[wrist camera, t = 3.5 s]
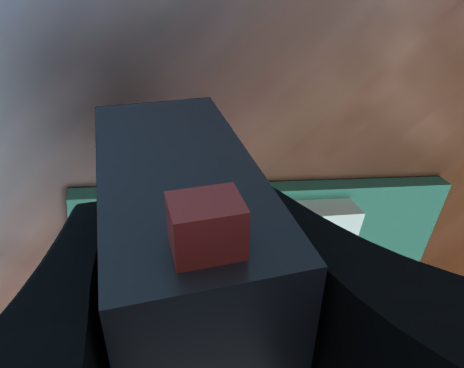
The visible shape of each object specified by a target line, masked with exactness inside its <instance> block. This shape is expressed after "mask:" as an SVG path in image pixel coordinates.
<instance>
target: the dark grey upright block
mask: <svg viewBox="0 0 464 368" xmlns="http://www.w3.org/2000/svg"><path fill="white" fill-rule="evenodd" d="M95 127H96V187H97V246H98V306H99V316H100V320H101V325H102V330H103V334H104V339H105V344H106V348H107V353H108V357H109V362H110V367H111V368H311V365H312V359H313V353H314V347H315V341H316V335H317V329H318V323H319V317H320V311H321V305H322V298H323V292H324V286H325V280H326V274H327V268H328V266H327V265H326V263H325V262H324V260H323V259H322V258H321V256H320V255H319V253H318V252H317V250H316V249H315V248H314V246H313V245H312V243H311V242H310V240H309V239H308V237H307V236H306V235H305V233H304V232H303V230H302V229H301V227H300V226H299V225H298V223H297V222H296V220H295V219H294V217H293V216H292V214H291V213H290V212H289V210H288V209H287V207H286V206H285V204H284V203H283V202H282V200H281V199H280V197H279V196H278V194H277V193H276V191H275V190H274V189H273V187H272V186H271V184H270V183H269V181H268V180H267V179H266V177H265V176H264V174H263V173H262V171H261V170H260V168H259V167H258V166H257V164H256V163H255V161H254V160H253V158H252V157H251V156H250V154H249V153H248V151H247V150H246V148H245V147H244V145H243V144H242V143H241V141H240V140H239V138H238V137H237V135H236V134H235V133H234V131H233V130H232V128H231V127H230V125H229V124H228V122H227V121H226V120H225V118H224V117H223V115H222V114H221V112H220V111H219V110H218V108H217V107H216V105H215V104H214V102H213V101H212V99H211V98H210V97H207V98H195V99H183V100H171V101H159V102H148V103H136V104H124V105H112V106H100V107H95Z"/></svg>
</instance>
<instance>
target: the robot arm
mask: <svg viewBox="0 0 464 368" xmlns="http://www.w3.org/2000/svg"><path fill="white" fill-rule="evenodd" d="M273 189H274V190H275V191H276V193H277V194H278V196H279V197H280V199H281V200H282V202H283V203H284V204H285V206H286V207H287V209H288V210H289V212H290V213H291V214H292V216H293V217H294V219H295V220H296V222H297V223H298V225H299V226H300V227H301V229H302V230H303V232H304V233H305V235H306V236H307V237H308V239H309V240H310V242H311V243H312V245H313V246H314V248H315V249H316V250H317V252H318V253H319V255H320V256H321V258H322V259H323V260H324V262H325V263H326V265H327V266H328V268H327V274H326V280H325V286H324V292H323V298H322V305H321V311H320V317H319V323H318V329H317V335H316V341H315V347H314V353H313V359H312V365H311V368H464V276H461V275H458V274H454V273H451V272H448V271H445V270H443V269H440V268H437V267H434V266H431V265H428V264H425V263H422V262H419V261H416V260H414V259H411V258H408V257H406V256H403V255H401V254H398V253H396V252H394V251H391V250H389V249H387V248H384V247H382V246H379V245H377V244H375V243H372V242H370V241H368V240H366V239H364V238H362V237H360V236H358V235H356V234H354V233H352V232H350V231H348V230H346V229H344V228H342V227H340V226H338V225H336V224H334V223H333V222H331V221H329V220H327V219H325V218H324V217H322V216H320V215H318V214H317V213H315V212H313V211H312V210H310V209H308V208H307V207H305V206H303V205H302V204H300V203H298V202H297V201H295V200H293V199H292V198H290V197H289V196H287V195H285V194H284V193H282V192H280V191H279V190H277V189H276V188H274V187H273ZM0 368H111V367H110V362H109V357H108V353H107V348H106V344H105V339H104V334H103V330H102V325H101V320H100V316H99V306H98V246H97V201H95V202H87V203H80V204H77V205H76V206H75V207H74V208H73V209H72V211H71V213H70V215H69V217H68V219H67V221H66V222H65V224H64V226H63V228H62V229H61V231H60V233H59V234H58V236H57V238H56V239H55V241H54V243H53V244H52V246H51V247H50V249H49V250H48V252H47V253H46V255H45V256H44V258H43V259H42V261H41V263H40V264H39V265H38V267H37V268H36V270H35V271H34V272H33V274H32V275H31V276H30V278H29V279H28V280H27V282H26V283H25V284H24V286H23V287H22V288H21V290H20V291H19V292H18V294H17V295H16V296H15V297H14V299H13V300H12V301H11V302H10V303H9V305H8V306H7V307H6V308H5V309H4V311H3V312H2V313H1V314H0Z"/></svg>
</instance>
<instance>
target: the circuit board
mask: <svg viewBox="0 0 464 368" xmlns="http://www.w3.org/2000/svg"><path fill="white" fill-rule="evenodd" d="M269 183H270V184H271V186H272V187H274V188H276V189H277V190H279V191H280V192H282V193H284V194H285V195H287V196H289V197H290V198H292V199H293V200H295V201H297V202H298V203H300V204H302V205H303V206H305V207H307V208H308V209H310V210H312V211H313V212H315V213H317V214H318V215H320V216H322V217H324V218H325V219H327V220H329V221H331V222H333V223H334V224H336V225H338V226H340V227H342V228H344V229H346V230H348V231H350V232H352V233H354V234H356V235H358V236H360V237H362V238H364V239H366V240H368V241H370V242H372V243H375V244H377V245H379V246H382V247H384V248H387V249H389V250H391V251H394V252H396V253H398V254H401V255H403V256H406V257H408V258H411V259H414V260H416V261H419V262H420V259H421V257H422V255H423V252H424V250H425V247H426V245H427V243H428V240H429V238H430V235H431V233H432V230H433V228H434V226H435V223H436V221H437V218H438V216H439V214H440V211H441V209H442V206H443V204H444V202H445V199H446V197H447V194H448V192H449V190H450V187H451V184H450V183H448V182H447V181H445V180H444V179H443V178H441V177H440V176H431V177H400V178H368V179H337V180H305V181H274V182H269ZM95 201H97V187H85V188H67V198H66V203H67V216H68V217H69V215H70V213H71V211H72V209H73V208H74V207H75V206H76V205H77V204H80V203H87V202H95Z"/></svg>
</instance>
